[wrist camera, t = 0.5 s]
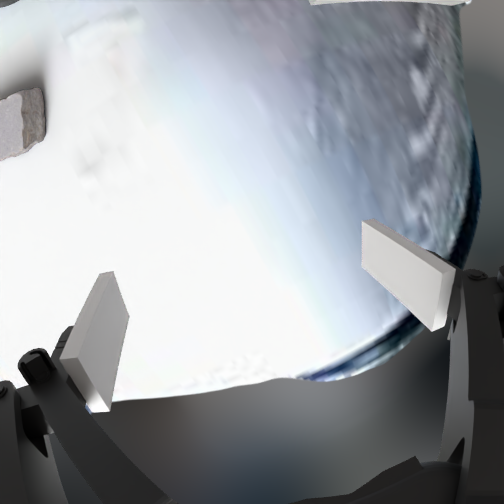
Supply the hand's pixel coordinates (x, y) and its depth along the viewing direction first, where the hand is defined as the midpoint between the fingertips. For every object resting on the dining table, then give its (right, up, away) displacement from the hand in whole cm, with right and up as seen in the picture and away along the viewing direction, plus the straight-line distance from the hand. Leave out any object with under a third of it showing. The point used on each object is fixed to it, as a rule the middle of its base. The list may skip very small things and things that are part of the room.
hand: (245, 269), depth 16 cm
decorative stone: (-32, +17, +16) cm, 40 cm away
